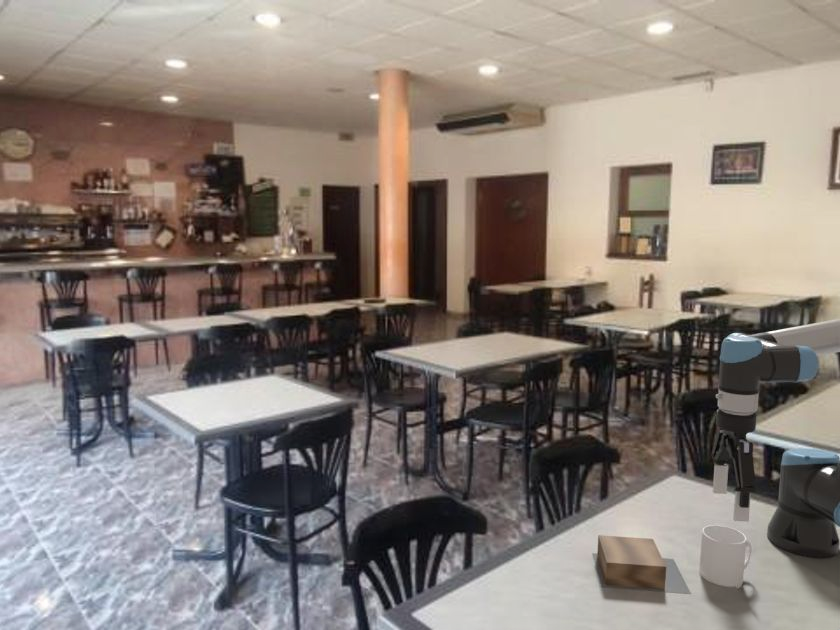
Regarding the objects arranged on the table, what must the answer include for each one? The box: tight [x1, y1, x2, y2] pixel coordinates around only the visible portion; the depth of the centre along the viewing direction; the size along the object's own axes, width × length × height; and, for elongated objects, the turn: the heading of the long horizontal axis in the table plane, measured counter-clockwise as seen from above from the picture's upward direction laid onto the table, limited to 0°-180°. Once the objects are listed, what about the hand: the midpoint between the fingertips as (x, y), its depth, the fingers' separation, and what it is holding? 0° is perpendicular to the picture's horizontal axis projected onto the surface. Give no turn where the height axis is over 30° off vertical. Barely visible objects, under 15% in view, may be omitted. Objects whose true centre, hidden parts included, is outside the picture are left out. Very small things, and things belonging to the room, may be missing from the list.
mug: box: [698, 524, 752, 590], centre depth 139 cm, size 9×12×11 cm
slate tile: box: [591, 552, 692, 595], centre depth 140 cm, size 18×14×1 cm
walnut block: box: [596, 534, 666, 589], centre depth 140 cm, size 12×12×5 cm
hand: (729, 506), depth 137 cm, fingers open, 13 cm apart
